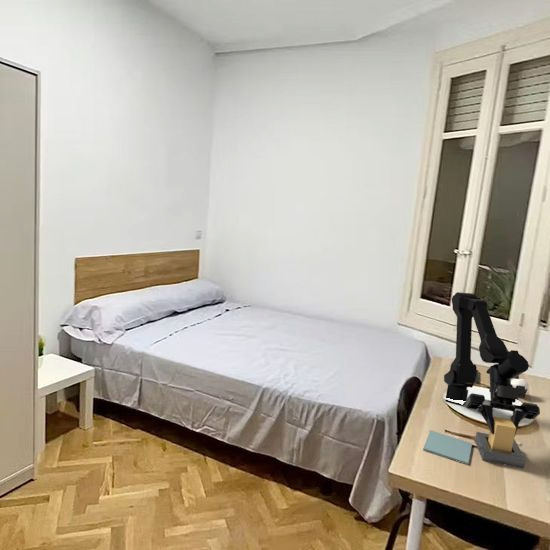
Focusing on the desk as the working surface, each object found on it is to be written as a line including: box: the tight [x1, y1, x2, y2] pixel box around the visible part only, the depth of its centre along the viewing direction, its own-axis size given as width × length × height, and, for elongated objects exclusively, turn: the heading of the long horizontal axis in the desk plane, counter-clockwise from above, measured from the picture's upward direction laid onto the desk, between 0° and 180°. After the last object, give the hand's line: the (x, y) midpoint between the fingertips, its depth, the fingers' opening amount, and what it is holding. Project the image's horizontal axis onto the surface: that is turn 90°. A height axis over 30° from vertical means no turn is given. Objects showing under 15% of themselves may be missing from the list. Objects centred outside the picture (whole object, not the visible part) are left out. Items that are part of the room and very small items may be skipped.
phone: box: [474, 369, 480, 384], centre depth 188 cm, size 8×1×15 cm
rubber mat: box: [422, 429, 473, 465], centre depth 131 cm, size 12×12×1 cm
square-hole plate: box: [474, 431, 526, 469], centre depth 129 cm, size 10×10×3 cm
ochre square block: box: [488, 416, 517, 452], centre depth 129 cm, size 5×5×10 cm
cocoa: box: [511, 375, 530, 393], centre depth 172 cm, size 10×6×12 cm, turn 156°
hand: (503, 435), depth 127 cm, fingers closed on ochre square block, 5 cm apart
